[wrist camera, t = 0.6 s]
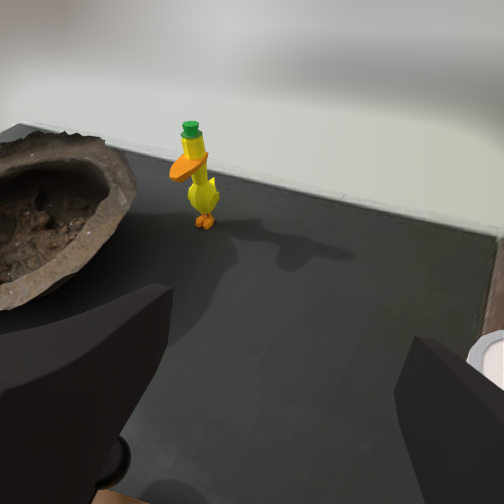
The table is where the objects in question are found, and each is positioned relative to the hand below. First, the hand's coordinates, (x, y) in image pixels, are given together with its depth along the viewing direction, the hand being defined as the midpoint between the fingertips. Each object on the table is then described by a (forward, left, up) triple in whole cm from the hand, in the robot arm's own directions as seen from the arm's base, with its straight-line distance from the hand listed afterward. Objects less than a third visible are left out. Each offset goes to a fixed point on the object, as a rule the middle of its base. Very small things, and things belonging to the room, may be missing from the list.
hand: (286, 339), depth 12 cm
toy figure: (+25, +16, -19) cm, 35 cm away
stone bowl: (+16, +32, -19) cm, 40 cm away
